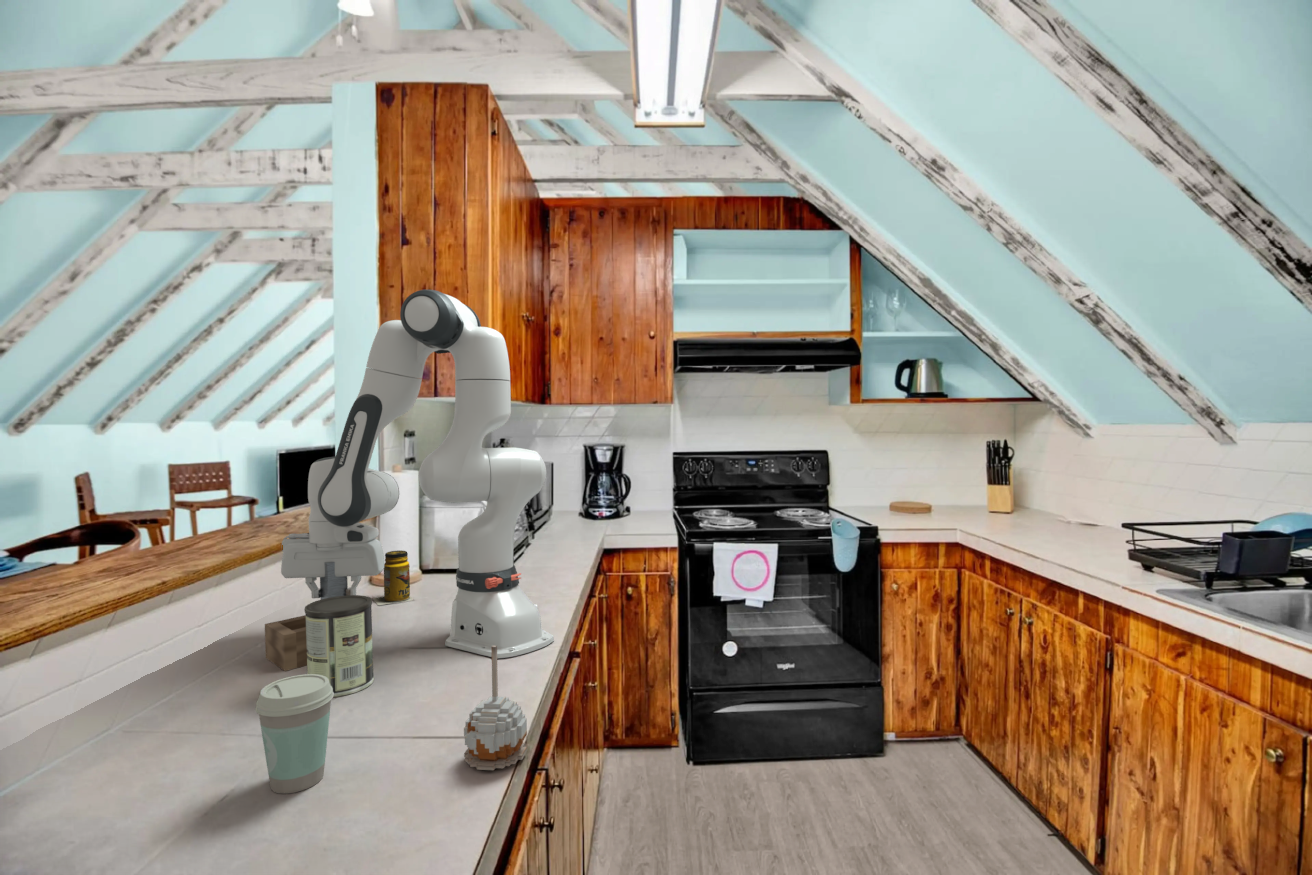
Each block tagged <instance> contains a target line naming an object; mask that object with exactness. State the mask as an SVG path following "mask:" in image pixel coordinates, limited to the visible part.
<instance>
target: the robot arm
mask: <svg viewBox="0 0 1312 875" xmlns="http://www.w3.org/2000/svg"><path fill="white" fill-rule="evenodd" d="M399 317H400V319H394V320H393V319H392V320H388V321H385V322H384V323H382V324H380V326H379V327H378V329H377V332H376V333H375V335H374V339H373V342H372V345H371V348H370V351H369V355H368V357H367V363H366V368H365V370H364V376H363V379H362V384H361V386H360V389H359V392H358V394H357V396H356V398H355V400H354V402H353V404H352V406H351V408H350V410H349V412H348V415H347V418H346V421H345V424H344V427H343V431H342V435H341V437H340V441H339V443H338V447H337V451H336V454H335V456H328V457H323V458H319V459H317V460H315V461H314V462H313V463H312V464H311V465H310V468H309V472H308V478H307V480H308V481H307V499H308V500H307V501H308V504H309V506H310V508H309V509H310V511H309V512H310V513H309V516H308V532H306V533H305V532H302V533H290V534H288V535H286V536H284V538H283V540H282V541H281V546H282V545H283V550H282V549H281V551H282V558H281V564H280V565H281V567H280V569H281V570H280V573H281V575H282V576H283V578H284V579H303V578H305V581H304V582H305V585H307V588H308V589H309V590H310V591H311V593H310V594H311V598H312V599H320V587H318V586H317V583H316V581H317V579H318V578H320V577H325V564H324V562H335V576H336V577H345V576H347V577H350V581H351V582H352V585H350V587H349V586H348V589H346V593H347V594H346V596H347V595H357V587H358V585H359V584H360V582H361V581H362V577H369V576H373V577H374V576H377V575H380V574H381V573H382V572H384V564H385V555H384V548H383V544H382V542H381V541H380V540H379V539H377V538H378V537H379V535H380V530H379V528H377V527H376V526H371V525H367V524H364V523H361V522H362V521H366V520H370V519H372V518H376V517H378V516H382V515H384V514H386V513H389V512H390V511H392V510H393V509H394V508H395V507H396V505H397V504H398V502H399V498H400V487H399V485H398V482H397V481H396V479H395V478H394V477H393V476H392V475H391V474H389V473H387V472H384V471H379V470H377V469H371V468H369V467H370V463H371V460H372V457H373V453H374V451H375V450H374V449H375V446H376V443H377V440H378V437H379V436H380V434H381V433H382V431H383V430H384V429H385V428H386V427H387V426H388V425H390V424H391V423H392V422H393V421H395V420H396V419H398V418H400V417H401V416H404V415H405V414H407V413H408V412H410V411H411V410H412V409H413V408H414V405H415V404H416V401H417V399H418V397H419V394H420V391H421V385H422V380H423V375H424V370H425V365H426V362H427V359H428V358H429V356H430V355H431V354H432V353H436V354H439V355H440V354H441V355H442V354H448V353H450V354H451V355H452V358H453V360H454V372H455V373H454V374H455V375H454V376H455V377H454V378H455V382H454V384H455V386H454V387H455V389H454V390H455V391H454V392H455V393H454V395H455V396H454V397H455V399H454V413H453V414H454V415H453V420H452V424H451V426H450V429H449V430H448V433H447V435H446V437H445V438H444V439H443V441H442V442H441V443H440V444H439V445H438V446H437V447H436V448H435V449H434V450H433V451H432V452H430V453H428V454H427V455H426V457H425V458H424V459H423V460H422V462H421V464H420V467H419V469H418V470H419V471H418V483H419V486H420V489H421V491H422V493H423V494H424V495H425V497H427V498H428V499H429V500H430V501H434V502H436V501H437V502H442V503H451V504H452V503H453V504H455V503H457V504H458V503H459V504H460V503H474V502H487V503H486V506H485V509H484V510H483V512H482V513H481V514H480V515H478V516H477V517H475V518H473V519H471V520H469V521H468V522H467V523H465V524H464V525H463V526H462V527H461V528H460V531H459V533H458V536H457V543H458V544H457V549H458V552H457V553H458V555H457V556H458V557H457V558H458V568H457V569H456V575H455V580H456V583H455V584H456V587H457V589H458V590H457V594H456V595H455V598H454V600H453V601H452V607H451V617H450V618H451V619H450V634H449V636H448V637H447V638H446V639H445V647H449V648H452V649H453V648H454V649H457V650H461V651H465V652H469V653H473V654H478V655H481V656H486V657H490V658H492V648H491V647H492V646H493V645H495V646H497V659H504V658H505V659H506V658H512V657H516V656H520V655H524V654H528V653H532V652H535V651H537V650H540V649H542V648H544V647H546V646H548V645H550V644H551V643H553V642H554V641H555V637H554V635H553V634H552V633H550V632H548V631H546V630H545V629H543V627H542V620H541V618H542V617H541V614H540V611H539V606H538V604H537V603H533V601H532V600H531V599H530V598H529V596H528V595H527V594H526V593H525V591H524V590H523V589H522V588H521V587H520V585H519V584H520V579H521V580H522V577H519V576H521V575H522V573H518V571H517V568H516V564H514V540H515V531H516V526H517V522H518V519H519V517H520V515H521V513H522V511H523V510H524V508H525V507H526V505H527V504H528V503H529V502H530V501H531V500H532V499H533V498H534V497H535V496H537V495H538V494H539V493H540V492H541V490H542V489H543V487H544V485H545V482H546V480H547V466H546V463H545V461H544V459H543V457H542V455H540V453H539V452H537V450H533V449H532V450H531V449H527V448H521V447H515V446H512V447H483V443H484V439H485V437H486V436H487V435H488V434H491V433H493V432H494V431H497V430H498V429H500V428H501V427H503V426H504V425H505V424H506V423H507V422H508V421H509V420H510V417H511V415H512V414H511V413H512V404H511V403H512V401H511V400H512V398H511V397H512V395H511V393H512V392H511V370H510V369H511V366H510V360H509V352H508V347H507V343H506V340H505V337H504V335H503V334H502V333H501V332H500V331H498V330H496V329H494V328H492V327H487V326H482V325H481V321H480V318H479V316H478V315H477V313H476V312H475V310H473V309H472V308H471V307H470V306H468V305H467V304H464V303H463V302H461V300H459V299H458V298H456V297H454V296H452V295H449V294H446V293H444V292H441V291H439V290H435V289H420V290H419V289H418V290H417V291H416V290H415V291H414V292H412V293H411V294H410V295H408V296H407V297H406V298H405V299H404V301H403V302H402V305H401V308H400V313H399Z"/></svg>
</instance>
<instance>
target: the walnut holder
mask: <svg viewBox="0 0 1312 875" xmlns="http://www.w3.org/2000/svg"><path fill="white" fill-rule="evenodd" d="M264 640H265V641H264V644H265V645H264V646H265V651H264V652H265V659H267V660H268V661H269V662H271V663H272V664H274V665H275V666H277V667H278V668H280V669H281V670H283V671H284V672H288V671H291V670H294V669H298V668H301V667H305V666H306V667H307V641H306V614H305V615H301V616H296V617H292V618H286V619H282V620H278V621H272V622H268V623H265V624H264Z"/></svg>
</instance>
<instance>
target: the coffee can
mask: <svg viewBox="0 0 1312 875" xmlns="http://www.w3.org/2000/svg"><path fill="white" fill-rule="evenodd" d="M372 605H373V598H372V597H371V596H370V597H369V596H366V595H359V594H356V595H347V596H337V597H331V598H326V599H322V600H321V599H319V600H315V601H313V602H310V603H308V604H307V605H305V606H304V613H305V615H306V641H307V665H306V668H307V669H306V670H307V674H317V675H323V676H325V677H327V678H328V680H329V683H330V685H331V686H332V688H333V692H334V696H333V698H338V697H344V696H348V695H351V694H355V693H358V692H360V691H363V690H364V689H365V690H366V689H367V688H368V687H370V686H371V685H372V684H373V683H374V681H375V677H374V660H373V658H374V657H373V656H374V655H373V653H374V650H373V624H372V623H373V620H372V618H373V616H372V614H373V612H372V610H373V609H372Z"/></svg>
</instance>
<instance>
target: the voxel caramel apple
mask: <svg viewBox="0 0 1312 875" xmlns="http://www.w3.org/2000/svg"><path fill="white" fill-rule="evenodd" d="M491 648H492V657H491V693H492V694H491V695H492V696H491V695H490V696H489V697H488V698H487V699H482V700H480V702H479V703H478V704H477V705H476V706H475V707H474V708H473V709H472V710H471V712H469V716H468V717H469V718H468V717H467V720H466V721H465V725H464V727H463V736H464V745H465V746H466V747H467V749H466V750H465V751H464V752H463V753H464V754H463V757H464V762H466V763H467V765H469V767H470V768H476V770H481V771H482V770H483V771H495V769H505V768H506V767H510V766H511V765H516V763H517V762H518V761H519V760H520V761H523V760H524V757H525V755H526V754H527V752H528V747H527V746H526V742H524V740H525V739H526V737H527V734H528V730H527V729H528V726H527V723H528V721H527V718H526V714H523V709H522V706H521V705H519V704H518V702H517V701H513V700H512V701H511V699H510V698H509V697H507V696H499V690H498V689H499V688H498V685H499V684H498V683H499V682H498V658H497V646H495V645H493V646H492V647H491Z"/></svg>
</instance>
